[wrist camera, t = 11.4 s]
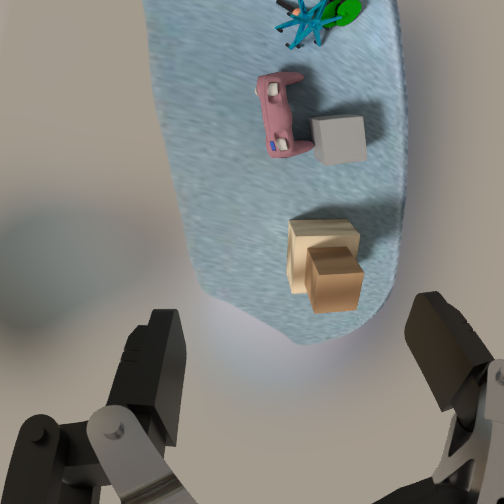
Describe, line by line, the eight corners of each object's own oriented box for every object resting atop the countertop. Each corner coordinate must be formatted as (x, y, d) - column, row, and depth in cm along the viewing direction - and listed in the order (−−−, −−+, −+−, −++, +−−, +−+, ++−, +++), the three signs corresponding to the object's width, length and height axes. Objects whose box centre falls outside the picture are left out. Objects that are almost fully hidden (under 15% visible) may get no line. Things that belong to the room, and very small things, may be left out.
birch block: (288, 220, 40) (295, 236, 35) (347, 219, 40) (360, 235, 35) (286, 273, 43) (292, 293, 39) (340, 270, 44) (350, 290, 39)
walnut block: (307, 247, 36) (319, 275, 31) (346, 246, 36) (364, 272, 31) (304, 283, 38) (314, 313, 33) (341, 281, 38) (356, 309, 33)
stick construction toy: (288, 64, 29) (291, 10, 21) (251, 35, 30) (247, -15, 22) (361, 35, 29) (374, -10, 22) (324, 9, 30) (330, -35, 23)
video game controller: (268, 75, 32) (243, 75, 27) (305, 70, 30) (287, 67, 25) (281, 151, 37) (260, 166, 32) (316, 150, 35) (301, 164, 30)
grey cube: (308, 117, 34) (319, 120, 29) (347, 113, 33) (362, 116, 29) (314, 157, 36) (325, 166, 32) (351, 152, 36) (367, 160, 31)
